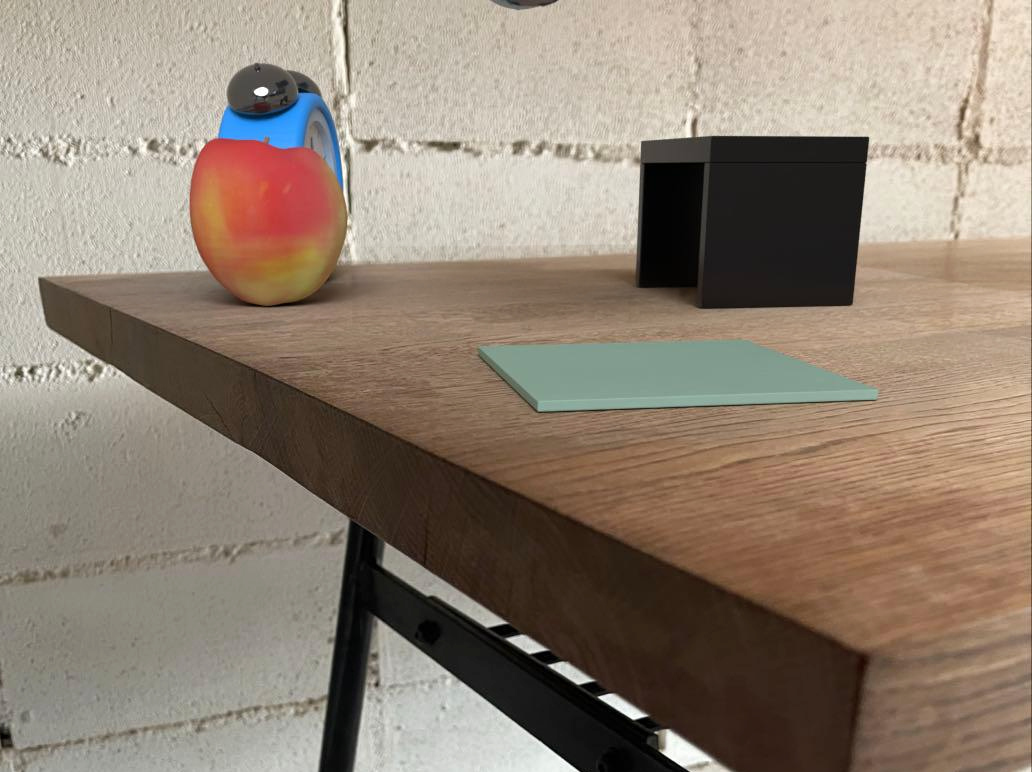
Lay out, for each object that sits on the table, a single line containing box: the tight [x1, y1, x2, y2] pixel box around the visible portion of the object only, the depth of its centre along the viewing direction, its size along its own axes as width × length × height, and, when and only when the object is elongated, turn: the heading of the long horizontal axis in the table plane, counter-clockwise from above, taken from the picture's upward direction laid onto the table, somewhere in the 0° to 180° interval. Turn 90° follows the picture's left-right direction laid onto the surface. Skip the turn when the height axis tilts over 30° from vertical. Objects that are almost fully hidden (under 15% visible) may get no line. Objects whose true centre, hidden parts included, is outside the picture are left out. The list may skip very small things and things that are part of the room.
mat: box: [477, 338, 880, 413], centre depth 47 cm, size 13×13×1 cm
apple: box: [188, 136, 349, 307], centre depth 70 cm, size 10×10×10 cm
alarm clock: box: [217, 62, 344, 193], centre depth 82 cm, size 13×6×15 cm, turn 174°
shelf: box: [634, 135, 870, 309], centre depth 75 cm, size 10×14×10 cm
